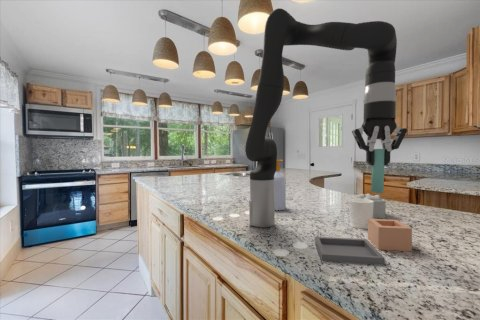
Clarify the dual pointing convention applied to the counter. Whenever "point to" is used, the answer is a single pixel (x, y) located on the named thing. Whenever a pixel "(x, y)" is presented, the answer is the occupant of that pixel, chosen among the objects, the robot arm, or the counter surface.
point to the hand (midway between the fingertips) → (377, 164)
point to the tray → (347, 250)
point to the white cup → (360, 212)
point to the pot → (390, 234)
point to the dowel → (378, 171)
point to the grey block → (375, 204)
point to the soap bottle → (279, 189)
